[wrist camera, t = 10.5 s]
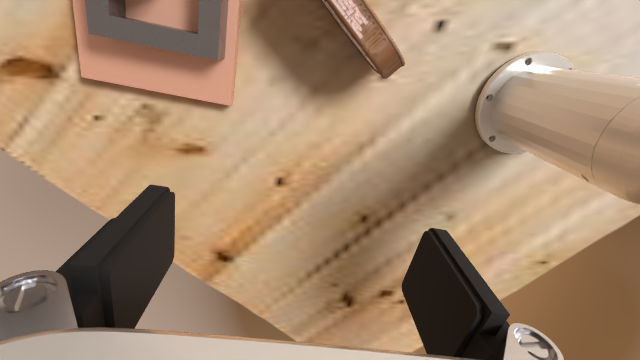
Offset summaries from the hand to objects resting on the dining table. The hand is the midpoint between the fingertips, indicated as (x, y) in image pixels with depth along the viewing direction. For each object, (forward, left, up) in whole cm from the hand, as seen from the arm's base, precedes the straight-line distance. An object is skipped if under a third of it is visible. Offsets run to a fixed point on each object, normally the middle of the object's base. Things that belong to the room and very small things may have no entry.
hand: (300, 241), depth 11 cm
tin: (-3, -10, -28) cm, 30 cm away
